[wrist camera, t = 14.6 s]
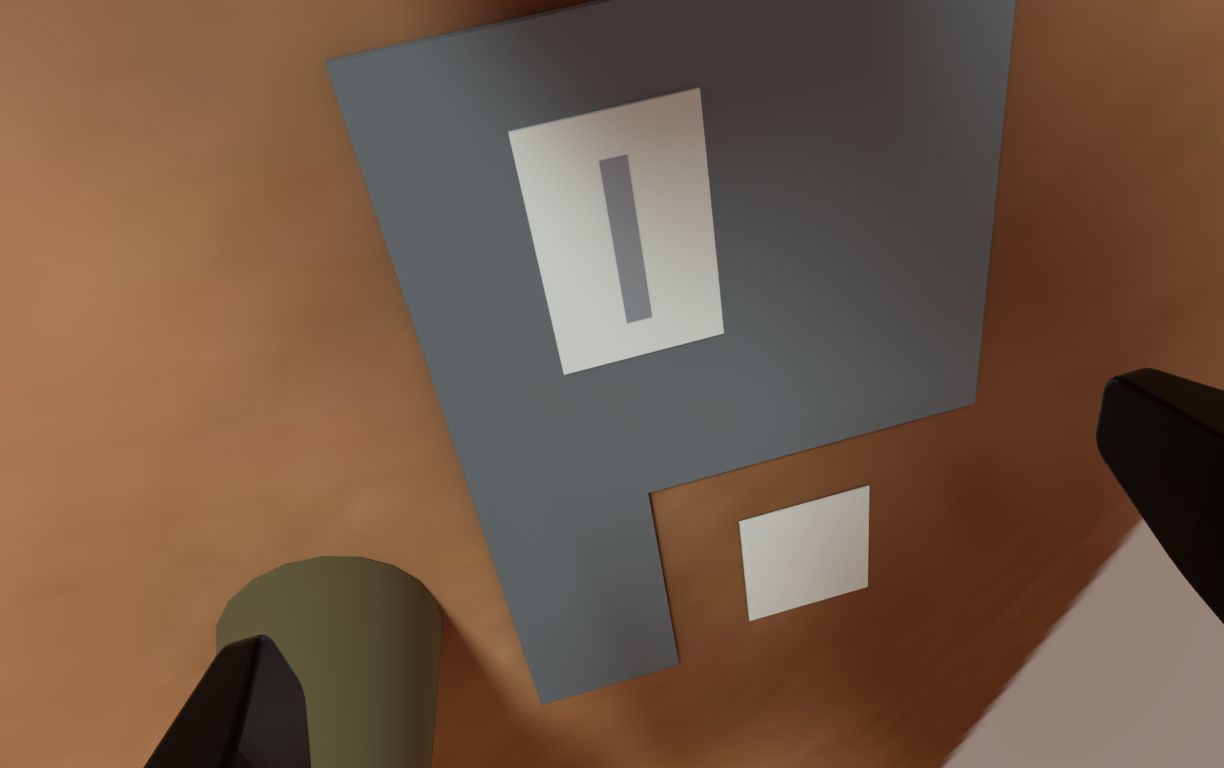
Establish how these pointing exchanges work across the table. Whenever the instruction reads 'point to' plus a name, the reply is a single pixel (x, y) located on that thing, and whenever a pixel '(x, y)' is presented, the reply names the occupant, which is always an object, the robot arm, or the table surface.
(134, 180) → the table surface
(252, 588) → the olive green pawn
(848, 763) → the table surface
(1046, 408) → the table surface
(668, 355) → the label panel
